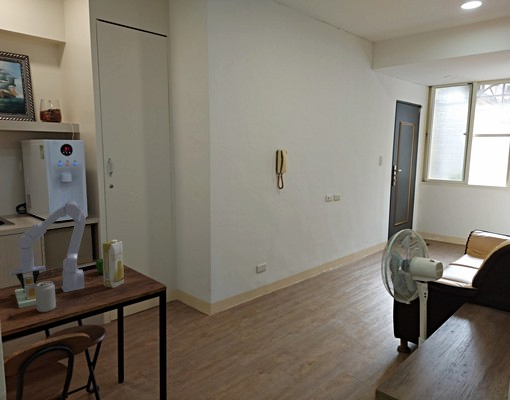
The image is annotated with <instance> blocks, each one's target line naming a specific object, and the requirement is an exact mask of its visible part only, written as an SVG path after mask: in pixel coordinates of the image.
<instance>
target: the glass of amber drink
mask: <svg viewBox="0 0 510 400" xmlns="http://www.w3.org/2000/svg"><path fill="white" fill-rule="evenodd" d="M25 287H26V300H31V299H36V294H35V288H36V287H37V282H36V283H32V284H26V285H25Z"/></svg>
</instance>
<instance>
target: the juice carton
mask: <svg viewBox="0 0 510 400" xmlns="http://www.w3.org/2000/svg"><path fill="white" fill-rule="evenodd" d="M101 249H102V251H101V252H102V254H101V255H102V258H103V276H102V277H103V286H104V287H107V288H113V289H114V288H116V287H119V286H121V285H122V284H124V282H125V278H124V276H125V275H124V274H125V273H124V272H125V271H124V250H123V241H121V240H118V239H112V240H110V241H107V242H103V243H101Z"/></svg>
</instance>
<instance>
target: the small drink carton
mask: <svg viewBox="0 0 510 400" xmlns="http://www.w3.org/2000/svg"><path fill="white" fill-rule="evenodd" d="M23 283H24V293H26V287H25V285H26V284H32V283H34V279H33V273H27V274H24V275H23Z"/></svg>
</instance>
